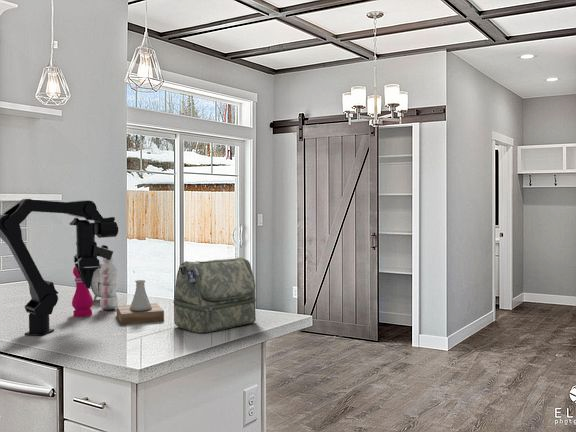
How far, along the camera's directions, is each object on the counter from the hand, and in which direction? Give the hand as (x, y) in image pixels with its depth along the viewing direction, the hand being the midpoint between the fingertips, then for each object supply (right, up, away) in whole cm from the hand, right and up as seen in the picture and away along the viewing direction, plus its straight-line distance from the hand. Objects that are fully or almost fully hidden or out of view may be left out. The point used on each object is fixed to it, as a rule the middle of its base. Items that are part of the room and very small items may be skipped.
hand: (86, 286), depth 202 cm
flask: (+15, -9, +9) cm, 20 cm away
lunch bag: (+42, -13, -1) cm, 44 cm away
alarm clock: (-9, -12, +51) cm, 53 cm away
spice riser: (+15, -13, +12) cm, 22 cm away
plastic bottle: (-1, -12, +29) cm, 31 cm away
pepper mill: (-8, -13, +19) cm, 24 cm away
